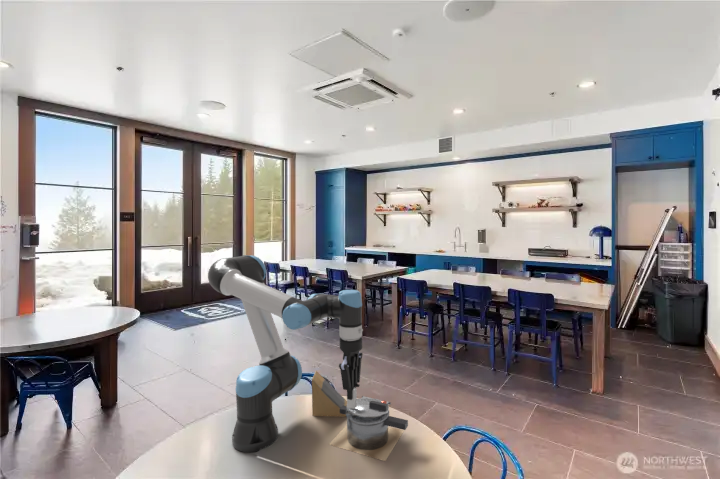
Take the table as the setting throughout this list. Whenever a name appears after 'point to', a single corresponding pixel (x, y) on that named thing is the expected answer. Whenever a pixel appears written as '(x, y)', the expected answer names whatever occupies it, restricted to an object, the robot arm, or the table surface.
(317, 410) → the sandwich container
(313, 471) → the table surface
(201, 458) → the table surface
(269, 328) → the robot arm
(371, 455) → the trivet
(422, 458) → the table surface
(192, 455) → the table surface
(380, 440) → the pot
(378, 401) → the lid
